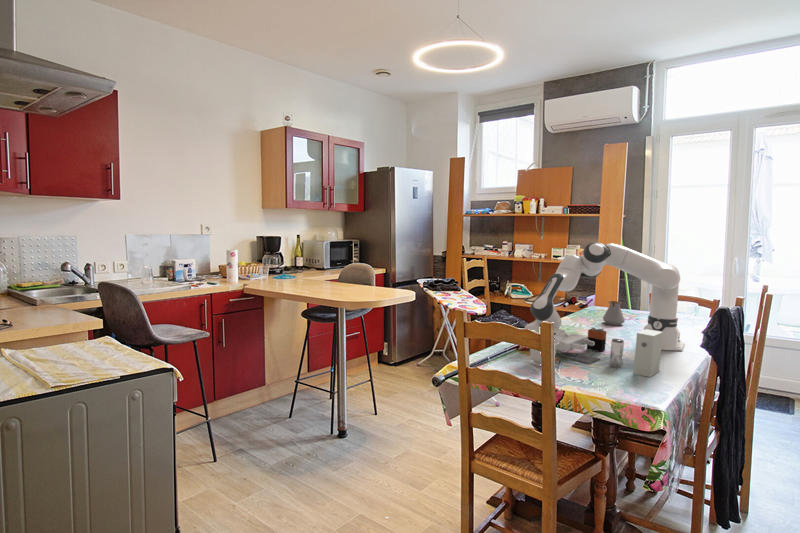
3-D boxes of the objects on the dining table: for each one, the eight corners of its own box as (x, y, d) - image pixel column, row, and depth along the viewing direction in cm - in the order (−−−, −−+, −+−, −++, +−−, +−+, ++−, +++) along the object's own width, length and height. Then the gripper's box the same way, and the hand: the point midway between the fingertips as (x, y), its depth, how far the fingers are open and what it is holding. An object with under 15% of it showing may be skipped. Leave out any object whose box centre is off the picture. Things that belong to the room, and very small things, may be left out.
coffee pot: (603, 320, 275) (605, 295, 273) (625, 323, 269) (627, 298, 268) (599, 327, 256) (601, 301, 255) (622, 330, 251) (624, 303, 249)
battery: (601, 352, 208) (603, 330, 207) (586, 349, 212) (587, 327, 211) (605, 350, 211) (607, 329, 210) (590, 347, 216) (592, 326, 214)
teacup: (555, 359, 194) (556, 336, 193) (559, 371, 180) (560, 345, 179) (525, 357, 197) (526, 334, 196) (526, 367, 183) (528, 343, 182)
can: (612, 364, 191) (614, 337, 190) (623, 366, 188) (626, 340, 186) (607, 366, 188) (609, 339, 187) (619, 369, 185) (621, 342, 183)
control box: (643, 367, 187) (646, 328, 185) (659, 371, 183) (663, 331, 181) (633, 373, 180) (636, 333, 178) (649, 377, 175) (653, 336, 174)
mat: (581, 355, 202) (581, 354, 202) (600, 359, 196) (600, 358, 196) (570, 359, 195) (570, 358, 195) (589, 364, 189) (589, 363, 189)
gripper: (568, 342, 213) (599, 349, 203) (546, 350, 199) (577, 357, 189) (569, 328, 212) (600, 334, 202) (547, 335, 198) (578, 342, 188)
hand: (588, 345), depth 195 cm, fingers open, 8 cm apart
